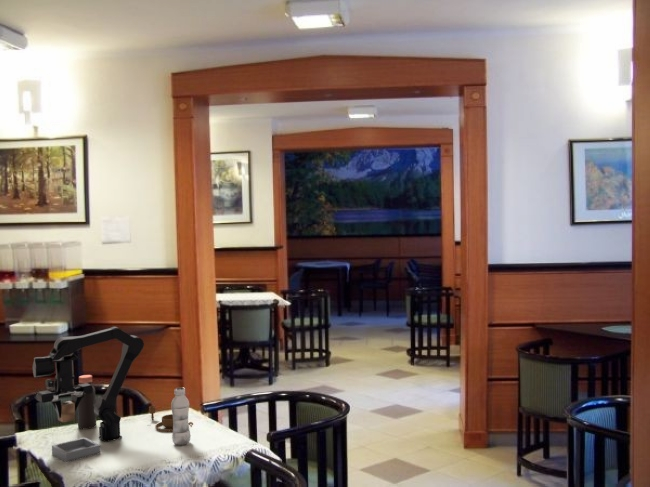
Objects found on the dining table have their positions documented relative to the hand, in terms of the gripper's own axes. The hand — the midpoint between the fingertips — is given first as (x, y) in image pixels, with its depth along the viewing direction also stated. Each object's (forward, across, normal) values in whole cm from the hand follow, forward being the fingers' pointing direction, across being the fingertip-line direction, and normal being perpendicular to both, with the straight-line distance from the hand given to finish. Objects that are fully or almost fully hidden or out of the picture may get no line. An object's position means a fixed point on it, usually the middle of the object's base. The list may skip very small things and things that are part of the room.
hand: (66, 416), depth 246 cm
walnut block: (+1, 0, 0) cm, 1 cm away
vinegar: (+11, -15, -17) cm, 26 cm away
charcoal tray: (+11, +1, +10) cm, 15 cm away
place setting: (+12, -39, +4) cm, 41 cm away
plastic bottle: (+11, -30, +28) cm, 42 cm away
